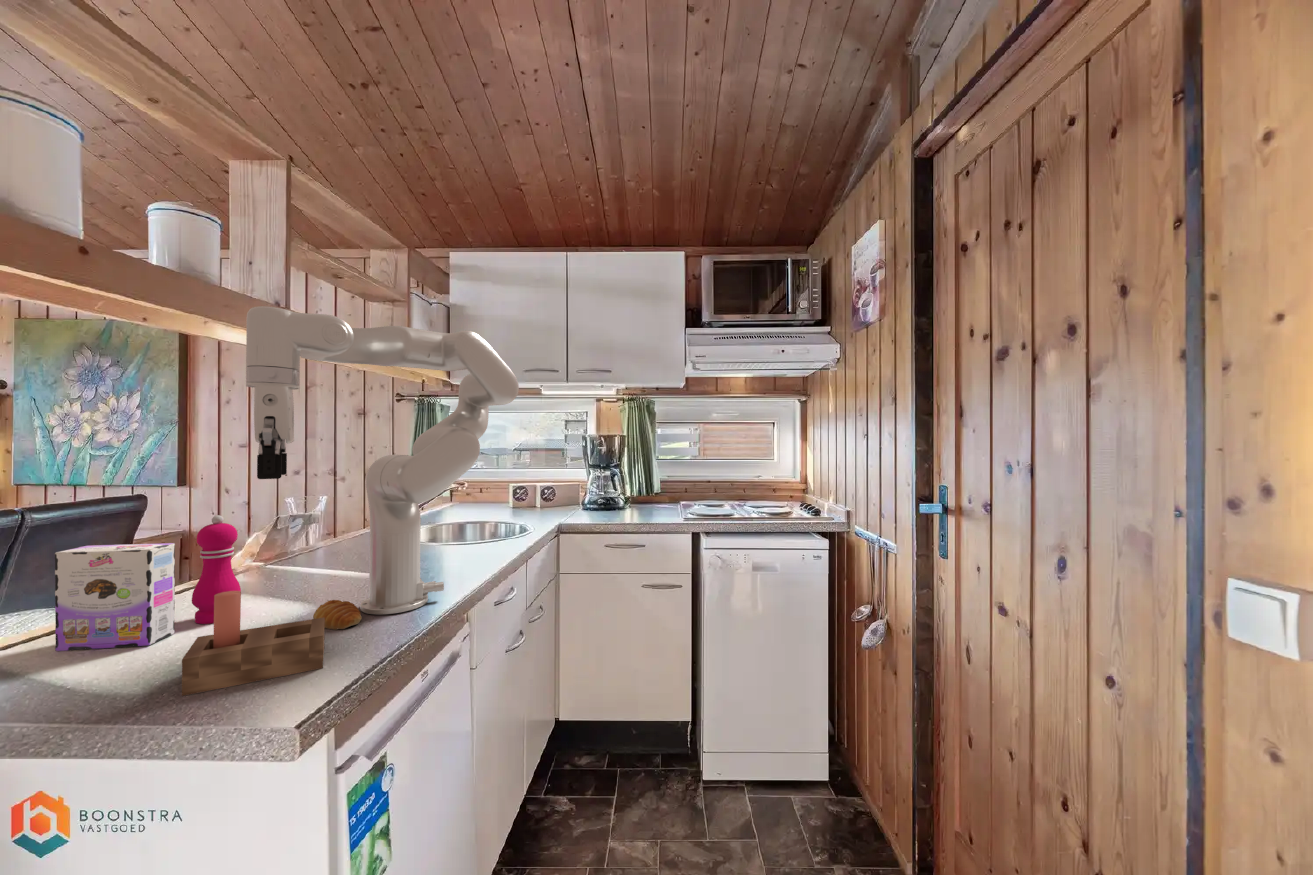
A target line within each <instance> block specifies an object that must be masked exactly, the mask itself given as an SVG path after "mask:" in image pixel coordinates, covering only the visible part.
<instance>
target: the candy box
mask: <svg viewBox="0 0 1313 875" xmlns="http://www.w3.org/2000/svg"><path fill="white" fill-rule="evenodd" d="M175 553H176V543H175V542H173V543H172V542H168V543H162V542H161V543H139V544H138V543H136V544H135V543H134V544H130V543H129V544H128V543H127V544H101V545H100V544H98V545H97V544H96V545H95V544H93V545H85V546H79V547H75V548H69V549H65V550H61V551H56V552H55V553H54V595H55V596H54V598H55V600H54V603H55V606H54V611H55V612H54V613H55V614H54V615H55V628H54V629H55V647H54V651H55V652H67V651H75V650H76V651H79V650H97V649H98V650H99V649H112V648H113V649H114V648H129V647H144V646H147V647H148V646H151V645H152V644H155V643H158V642H159V641H162V640H164V639H166V638H168V637H170V636H172V635H174V634H175V604H176V602H175V595H176V594H175V593H176V592H175V589H176V588H175V586H176V585H175V580H176V579H175V577H176V576H175V574H176V572H175V570H176V569H175V567H176V566H175V562H176V561H175V559H176V558H175V557H176V555H175Z"/></svg>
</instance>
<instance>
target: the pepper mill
mask: <svg viewBox="0 0 1313 875" xmlns="http://www.w3.org/2000/svg"><path fill="white" fill-rule="evenodd" d="M224 520H225V519H224V516H222V515H219V514H217V515H214V516H213V517H212V518H211V524H207V525H206V526H204V527H201V529H200V530H199V531H198V532H197V534H196V543H197V546H200V548H201V549H200V551H199V553H200V556H199V558H200V559H202V570H201V575H200V577H199V579H198V580H197V583H196V584H195V587H194V589H193V591H192V595H191V604H192V605H193V606H194V607H195V608H197V611H195V612H194V623H196V624H197V625H198V624H199V625H208V624H209V625H210V624H214V595H216V594H218V593H222V592H227V591H241V592H242V590H241V589H242V588H241V585H240V582H239V581H238V579H237V577H236V575H235V573H234V571H233V567H232V556H233V555H235V551H234V549H235V547H234V546H233V545H234V544H235V543H236V542H237V540H238V537H239V536H238V530H237V528H236V527H235V526H233V525H232V524H230V523H224Z"/></svg>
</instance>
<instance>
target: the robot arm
mask: <svg viewBox="0 0 1313 875" xmlns="http://www.w3.org/2000/svg"><path fill="white" fill-rule="evenodd" d="M245 339H246V341H245V342H246V343H245V344H246V347H245V348H246V349H245V351H246V352H245V353H246V354H245V355H246V356H245V369H246V370H245V387H247V388H253V389H254V392H253V393H254V399H253V422H254V423H253V424H254V426H253V427H254V439H255V442H257V443H258V451H257V452H258V454H257V458H256V463H257V464H256V479H258V480H277V479H278V480H279V479H281V478H282V476H285V475H287V473H288V469H287V468H288V466H287V465H288V461H287V459H288V453H287V450H286V448H287V447H286V444H292V443H294V442H295V433H294V432H295V426H294V425H295V423H294V422H295V420H294V417H295V416H294V415H295V413H294V412H295V411H294V410H295V409H294V408H295V407H294V406H295V405H294V404H295V403H294V393H293V392H294V390H300V389H301V386H300V385H301V384H300V383H301V379H300V378H301V375H300V374H301V373H300V370H301V369H300V368H301V358H303V359H305V360H308V361H319V362H327V363H339V364H355V365H370V366H378V367H379V366H380V367H398V368H399V367H400V368H411V369H412V368H413V369H420V370H421V369H423V370H424V369H425V370H433V371H444V372H456V371H463V370H464V371H465V370H467V371H468V374H466V375H465V376H464V377H463V378H462V380H461V381H460V383H459V387H458V402H457V403H458V404H457V406H456V409H455V410H453V412H452V413H450V414H449V415H448V416H446V417H445V418H444V419H441V421H439V422H438V423H436V424H435V425H433V426H431V427H430V428H429V429H427V430H425V431H424V432H423V433H421V434H420V435H419V436H417V438H416V439H415V440H414V443H413V445H412V455H408V454H387V455H384V456H382V457H379V458H378V459H376V460H375V461H374V462H372V464H370V466H369V468H368V470H367V473H366V476H365V489H366V494H367V500H368V508H369V557H368V559H369V565H368V567H369V570H368V573H369V575H368V579H369V580H368V588H369V589H368V598H366V599H364V600H362V602H360V605H359V608H360V609H359V611H360V612H362V613H365V614H368V615H392V614H393V615H394V614H399V613H405V612H410V611H413V610H416V609H418V608H421V607H422V606H424V605H426V604H427V603H428V601H429V600H428V599H429V596H428V594H429V593H433V592H434V593H438V592H444V589H445V585H444V581H438V582H436V580H433V581H428V582H425V581H423V580H422V578H421V527H422V525H421V524H422V523H421V522H422V519H421V511H420V506H419V504H421V503H426V502H429V501H430V500H432V499H434V498H436V497H437V496H438V495H440V494H441V493H442V492H444V491H445V490H446V489H448V487H450V486H452V484H453V483H455V482H456V481H457V480H458V479H460V478H461V477H463V476H464V475H465V473H467V472H469V471H470V470H471V468H473V467H474V465H475V464H476V462H477V460H478V458H479V456H480V451H481V445H480V441H479V440H480V438H481V437H483V435H484V434H485V433H486V431H487V429H488V424H489V415H490V414H489V410H490V409H489V406H505V405H508V404H511V403H512V402H513V401H514V400H516V398H517V396H518V394H519V391H520V390H519V389H520V386H519V382H518V378H517V376H516V375H515V373H514V372H513V371H512V369H511V368H510V367H509V365H508V364H507V363H506V362H505V361H504V360H503V359H502V357H501V356H500V355H499V354H498V352H497V351H496V350H494V348H493V347H492V346H491V345H490V344H489V343H488V342H487V341H486V340H485V339H484V338H483V337H482V336H480V335H479V334H478V333H477V332H474V331H473V330H472V331H471V330H459V331H457V332H456V331H455V332H452V333H450V332H449V333H448V332H439V331H434V330H426V329H419V328H415V327H414V328H413V327H407V326H402V325H387V326H386V325H384V326H378V327H377V326H376V327H361V328H359V327H351V325H349V324H348V323H347V322H346V321H345V320H344V319H342V318H340V317H338V316H336V315H331V314H326V313H305V312H297V311H296V312H295V311H292V310H289V309H287V308H286V309H285V308H281V307H274V306H262V305H261V306H254V307H251V308H250V309H248V311H247V313H246V338H245Z"/></svg>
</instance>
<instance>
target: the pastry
mask: <svg viewBox="0 0 1313 875" xmlns="http://www.w3.org/2000/svg"><path fill="white" fill-rule="evenodd" d="M312 617H313V618H312V619H318V618H324V617H325V629H330V630H344V629H348V628H349V627H351V626H355V625H359V624H360V622H361V621H362V616H361V610H360V609H359V608H358V606H356V604H354V603H353V602H350V601H346V600H344V601H342V600H339V599H331V600H327V601H326V602H324V603H323V604H320V605H319V606H318V607H317V609H316V610H315V611H314V613H313V616H312Z"/></svg>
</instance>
